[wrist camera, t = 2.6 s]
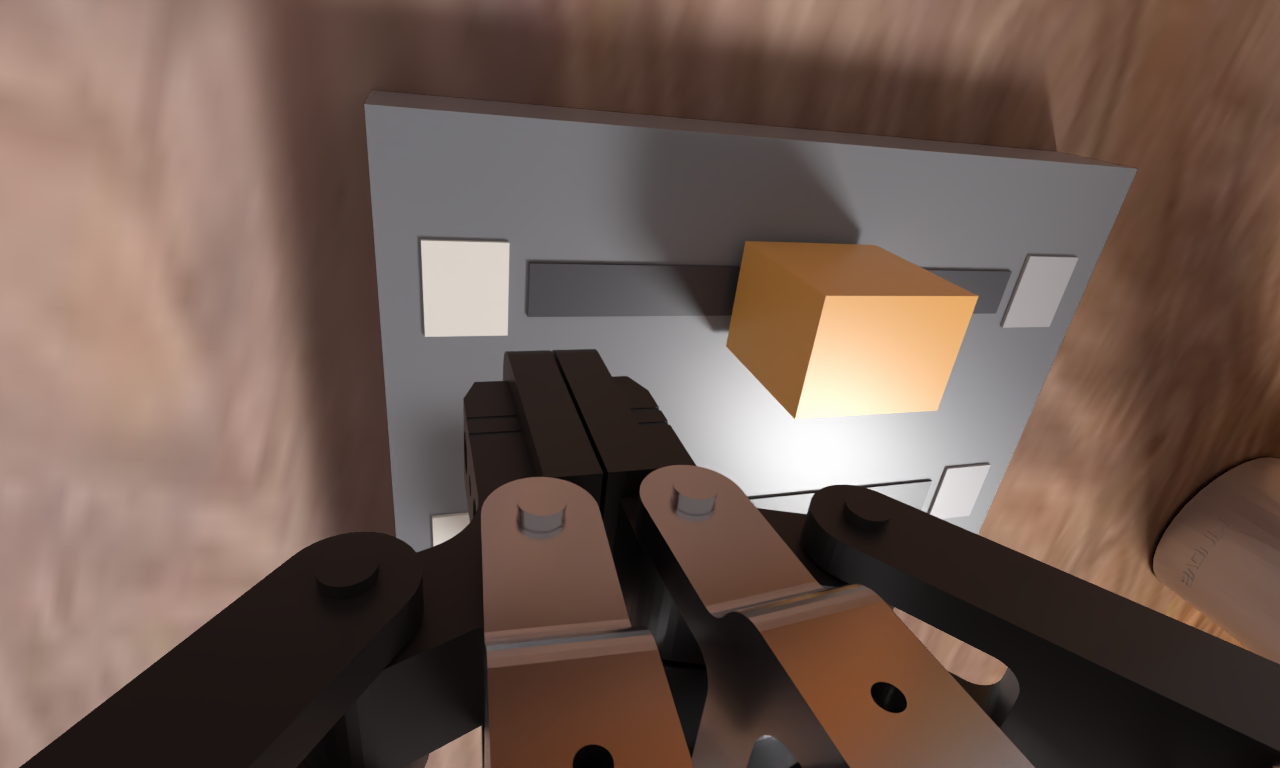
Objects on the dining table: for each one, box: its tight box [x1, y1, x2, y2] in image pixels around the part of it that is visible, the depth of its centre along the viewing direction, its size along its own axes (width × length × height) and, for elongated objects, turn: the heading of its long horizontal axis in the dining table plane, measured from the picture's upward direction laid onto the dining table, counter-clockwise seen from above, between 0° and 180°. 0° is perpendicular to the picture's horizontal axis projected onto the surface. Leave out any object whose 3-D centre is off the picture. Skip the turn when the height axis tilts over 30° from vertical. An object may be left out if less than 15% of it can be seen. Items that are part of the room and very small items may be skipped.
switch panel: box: [364, 90, 1138, 552], centre depth 22 cm, size 22×16×3 cm
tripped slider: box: [726, 241, 979, 419], centre depth 17 cm, size 4×3×4 cm
